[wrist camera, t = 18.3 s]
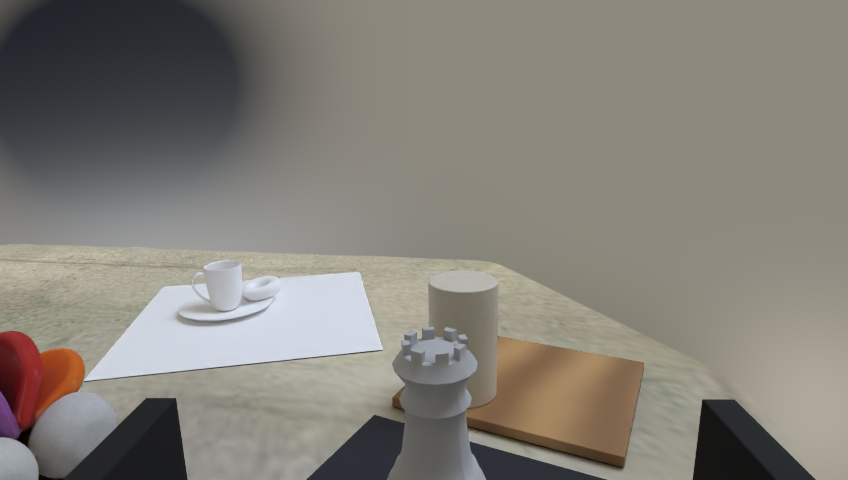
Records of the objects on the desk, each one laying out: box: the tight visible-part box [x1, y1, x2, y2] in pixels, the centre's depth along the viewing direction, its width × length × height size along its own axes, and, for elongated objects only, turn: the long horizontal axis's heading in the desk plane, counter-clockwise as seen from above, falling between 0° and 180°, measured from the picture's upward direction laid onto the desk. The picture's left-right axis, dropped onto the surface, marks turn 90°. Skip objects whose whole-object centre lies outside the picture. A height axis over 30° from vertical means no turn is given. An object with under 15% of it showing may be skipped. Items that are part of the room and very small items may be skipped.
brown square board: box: [393, 336, 644, 467], centre depth 33 cm, size 13×11×1 cm
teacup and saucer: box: [177, 260, 283, 322], centre depth 47 cm, size 9×8×4 cm
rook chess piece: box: [387, 327, 486, 480], centre depth 21 cm, size 4×4×8 cm
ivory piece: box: [428, 270, 498, 408], centre depth 31 cm, size 4×4×7 cm
